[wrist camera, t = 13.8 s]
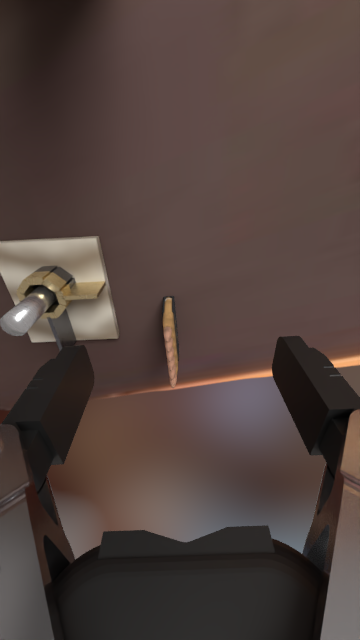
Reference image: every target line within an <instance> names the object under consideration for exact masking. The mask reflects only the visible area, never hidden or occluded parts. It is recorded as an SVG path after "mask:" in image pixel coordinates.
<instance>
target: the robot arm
mask: <svg viewBox="0 0 360 640" xmlns="http://www.w3.org/2000/svg"><path fill="white" fill-rule="evenodd" d="M272 373H273V378H274V380H275V382H276V385H277V387H278V389H279V391H280V393H281V395H282V397H283V399H284V402H285V403H286V406H287V408H288V410H289V412H290V414H291V416H292V418H293V421H294V423H295V425H296V427H297V429H298V431H299V433H300V435H301V437H302V440H303V442H304V444H305V446H306V448H307V450H308V452H309V454H310V455H323V457H324V459H325V460H326V462H327V463H326V465H325V468H324V472H323V476H322V481H321V485H320V490H319V494H318V499H317V503H316V507H315V512H314V516H313V521H312V524H311V527H310V530H309V532H308V535H307V538H306V542H305V545H304V549H303V553H302V554H301V553H300V552H298V551H297V550H295V549H293V548H292V547H290V546H289V545H286V544H284V543H282V542H280V541H278V540H274V539H272V538H271V535H270V531H269V527H268V526H242V527H226V528H224V529H221V530H219V531H216V532H214V533H211V534H208V535H206V536H203V537H201V538H199V539H196V540H193V541H190V542H187V543H186V542H180V541H177V540H174V539H170V538H167V537H164V536H161V535H157V534H154V533H151V532H148V531H145V530H135V531H108V532H103V536H102V542H101V545H100V546H97V547H95V548H93V549H91V550H89V551H88V552H86V553H85V554H83V555H81V556H80V557H79V558H77V559H76V560H75V557H74V554H73V551H72V548H71V546H70V543H69V541H68V539H67V537H66V535H65V533H64V530H63V527H62V524H61V520H60V517H59V514H58V510H57V507H56V503H55V499H54V496H53V493H52V490H51V486H50V482H49V479H48V477H47V473H48V470H49V468H50V466H51V465H56V464H64V461H65V459H66V456H67V454H68V451H69V449H70V446H71V443H72V441H73V438H74V435H75V433H76V430H77V428H78V425H79V423H80V420H81V417H82V415H83V412H84V409H85V407H86V404H87V402H88V399H89V397H90V394H91V391H92V389H93V386H94V372H93V369H92V365H91V362H90V359H89V356H88V353H87V350H86V347H85V346H84V345H79V346H64V347H63V348H62V349H61V351H60V352H59V354H58V356H57V357H56V359H51V360H49V361H48V362H47V363H46V364H44V365H43V366H42V367H41V368H40V369H39V370H38V372H37V373H36V375H35V376H34V378H33V380H32V381H31V382H30V383H29V385H28V386H27V389H25V391H24V392H23V394H22V395H21V396H20V398H19V399H18V401H17V402H16V404H15V405H14V407H13V408H12V409H11V411H10V412H9V414H8V415H7V417H6V418H5V420H4V421H3V422H2V424H1V425H0V640H360V397H359V396H358V395H357V394H356V393H355V391H354V390H353V389H352V388H351V387H350V385H349V384H348V383H347V381H346V380H345V379H344V378H343V376H341V375H340V373H339V372H338V370H337V369H336V368H334V365H333V364H332V363H331V362H330V361H329V359H328V358H327V357H326V356H325V355H324V354H322V353H321V352H319V351H318V350H316V349H315V348H309V347H308V346H307V345H306V343H305V342H304V341H303V339H302V338H301V337H300V336H287V337H279V338H278V340H277V344H276V349H275V354H274V359H273V364H272Z"/></svg>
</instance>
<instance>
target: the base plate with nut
mask: <svg viewBox="0 0 360 640" xmlns="http://www.w3.org/2000/svg"><path fill="white" fill-rule="evenodd" d="M0 273H1V275H2V277H3V279H4V282H5V284H6V286H7V288H8V290H9V293H10V295H11V297H12V299H13V301H14V304H15V306H16V305H17V304H18V303H20V302H21V301H22V300H23V299H24V298H26V297H27V296H28V295H29V294H30V293H32V292H33V291H34V290H35V289H36V288H38V287H39V286H40V285H42V284H43V285H44V286H46V287H47V288H49V289H51V290H52V291H54V292H55V293H56V296H57V300H56V301H55V302H54V303H53V304H52V305H51V306H50V307H49V308H48V309H47V310H46V312H45V313H44V314H43V315H42V316H41V317H40V318H39V319H38V320H37V321H36V322H35V323H34V324H33V325H32V326H31V328H30V329H29V330H28V331H27V332H28V334H29V337H30V339H31V341H32V342H52V341H56V342H57V345H58V348H59V350H60V351H61V349H62V348H63V347H64V346H74V344H75V342H76V341H77V340H94V339H116V338H118V337H119V334H120V333H119V329H118V324H117V319H116V315H115V310H114V305H113V301H112V296H111V291H110V287H109V282H108V277H107V273H106V268H105V263H104V259H103V254H102V250H101V245H100V240H99V236H88V237H69V238H50V239H30V240H11V241H0Z"/></svg>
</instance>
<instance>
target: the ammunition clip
mask: <svg viewBox="0 0 360 640" xmlns="http://www.w3.org/2000/svg"><path fill="white" fill-rule="evenodd" d="M162 315H163V330H164V339H165V348H166V356H167V363H168V371H169V376H170V384H171V387H172V388H174V387H175V385H176V381H177V371H178V361H179V343H178V333H177V323H176V312H175V302H174V296H170V297H163V309H162Z"/></svg>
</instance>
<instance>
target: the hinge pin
mask: <svg viewBox="0 0 360 640" xmlns="http://www.w3.org/2000/svg"><path fill="white" fill-rule="evenodd" d="M56 300H57V296H56V293H55V292H54V291H52V290H51V289H49V288H47V287H46V286H44V285H43V284H42V285H40V286H39V287H38V288H36V289H35V290H34V291H33V292H32V293H30V294H29V295H28V296H27V297H26V298H24V299H23V300H22V301H21V302H20V303H18V304H17V305H16V306H15V307H14V308H12V309H11V310H10V311H9V312H8V313H6V314H5V315H4V316H3V317H2V318H1V319H0V325H1V327H2V329H3V330H4V331H5V332H7V333H8V334H10V335H13V336H22V335H24V334H25V333H26V332H27V331H28V330H29V329H30V328H31V326H32V325H33V324H34V323H35V322H36V321H37V320H38V319H39V318H40V317H41V316H42V315H43V314H44V313H45V312H46V310H47V309H48V308H49V307H50V306H51V305H52V304H53V303H54V302H55V301H56Z"/></svg>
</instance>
